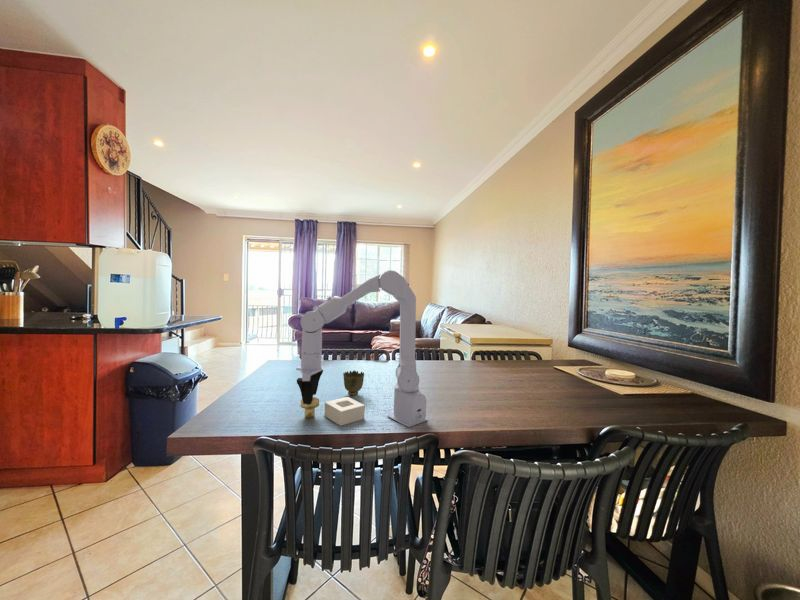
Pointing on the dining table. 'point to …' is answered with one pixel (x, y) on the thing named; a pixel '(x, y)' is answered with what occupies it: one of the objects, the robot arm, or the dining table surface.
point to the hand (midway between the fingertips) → (309, 398)
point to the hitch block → (344, 410)
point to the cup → (353, 382)
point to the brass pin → (310, 408)
